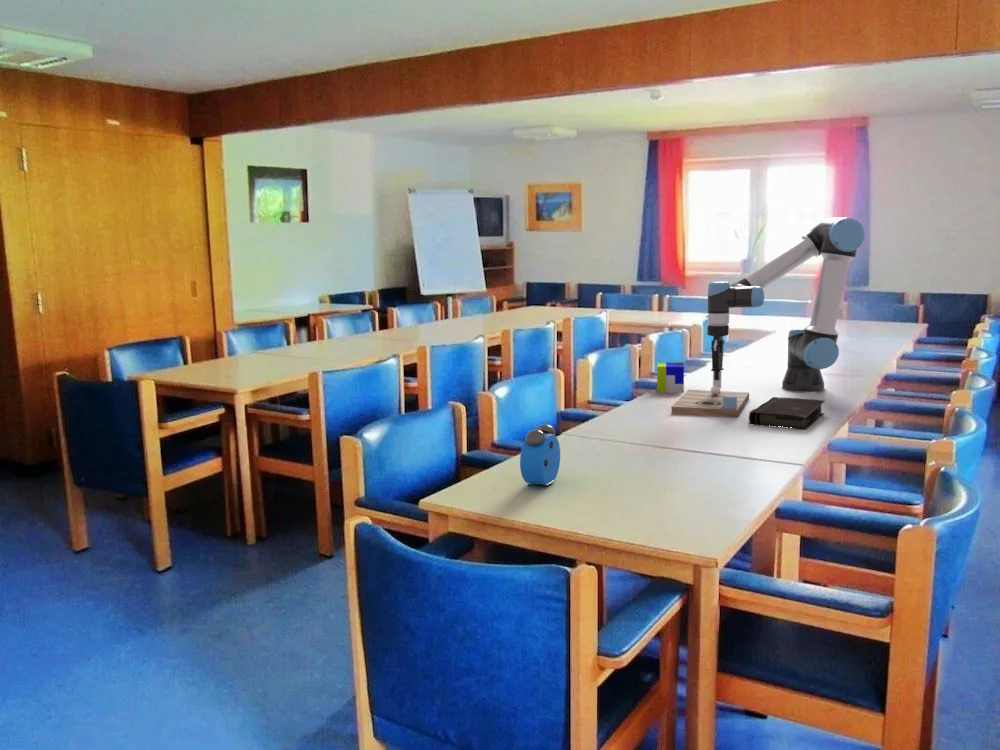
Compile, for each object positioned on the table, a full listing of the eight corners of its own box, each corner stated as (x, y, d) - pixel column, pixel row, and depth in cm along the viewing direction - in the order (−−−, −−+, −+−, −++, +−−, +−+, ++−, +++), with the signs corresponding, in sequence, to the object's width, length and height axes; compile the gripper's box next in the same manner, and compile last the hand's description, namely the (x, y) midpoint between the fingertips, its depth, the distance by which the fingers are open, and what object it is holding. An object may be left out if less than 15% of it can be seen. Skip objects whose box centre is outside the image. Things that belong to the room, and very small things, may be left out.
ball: (720, 394, 297) (720, 385, 297) (719, 395, 295) (719, 387, 294) (711, 393, 299) (711, 385, 298) (710, 395, 296) (710, 386, 295)
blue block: (735, 406, 277) (735, 394, 276) (736, 409, 273) (736, 397, 272) (722, 406, 278) (723, 394, 277) (724, 409, 274) (724, 397, 273)
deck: (688, 396, 308) (688, 389, 307) (749, 399, 299) (749, 392, 298) (671, 413, 281) (671, 406, 280) (737, 417, 272) (737, 410, 272)
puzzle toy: (683, 392, 315) (683, 366, 313) (657, 392, 317) (657, 366, 315) (683, 387, 325) (683, 362, 323) (657, 387, 327) (657, 362, 325)
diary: (747, 425, 263) (748, 410, 262) (770, 410, 283) (770, 395, 282) (807, 432, 252) (808, 416, 252) (827, 415, 273) (827, 400, 272)
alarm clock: (540, 475, 217) (538, 420, 214) (562, 477, 214) (560, 422, 211) (520, 490, 205) (518, 432, 202) (542, 493, 202) (541, 434, 200)
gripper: (710, 322, 304) (709, 384, 309) (704, 326, 293) (703, 391, 297) (731, 322, 301) (730, 385, 306) (725, 326, 290) (724, 392, 294)
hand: (717, 388), depth 301 cm, fingers closed
